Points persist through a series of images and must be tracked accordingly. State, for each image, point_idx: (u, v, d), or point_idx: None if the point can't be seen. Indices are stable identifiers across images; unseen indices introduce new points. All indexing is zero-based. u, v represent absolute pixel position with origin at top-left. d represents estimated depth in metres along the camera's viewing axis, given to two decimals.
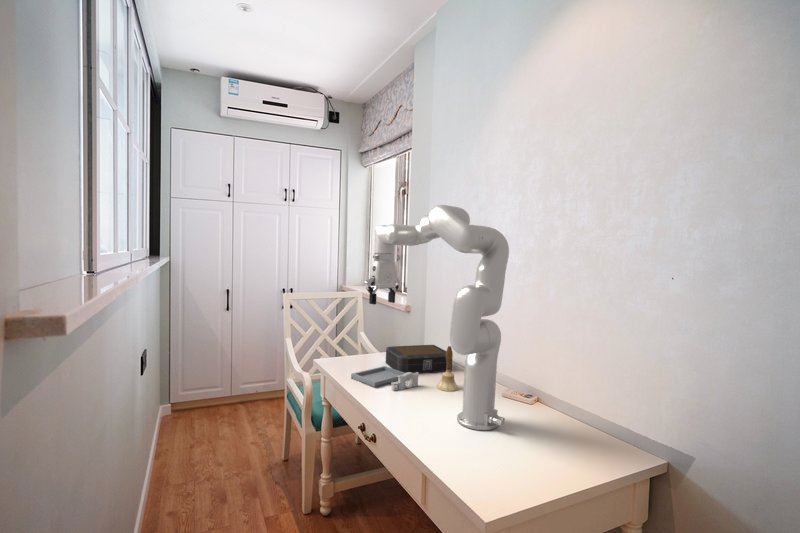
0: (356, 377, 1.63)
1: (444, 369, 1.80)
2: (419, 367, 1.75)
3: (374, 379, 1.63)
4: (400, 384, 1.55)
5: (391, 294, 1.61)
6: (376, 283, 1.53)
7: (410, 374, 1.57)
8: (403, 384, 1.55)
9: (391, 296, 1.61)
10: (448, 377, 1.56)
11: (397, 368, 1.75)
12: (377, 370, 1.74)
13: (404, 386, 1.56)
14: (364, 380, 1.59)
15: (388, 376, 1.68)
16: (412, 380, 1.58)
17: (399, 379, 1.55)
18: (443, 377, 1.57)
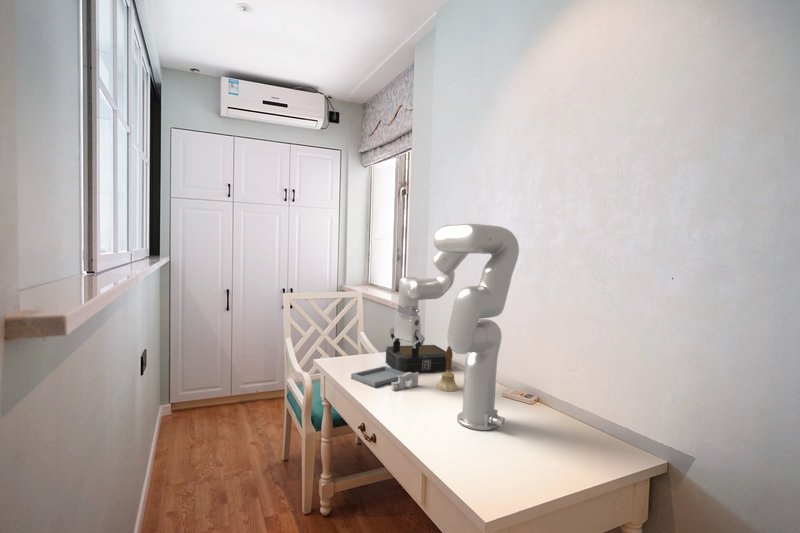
0: (356, 377, 1.63)
1: (443, 369, 1.79)
2: (418, 367, 1.75)
3: (374, 379, 1.63)
4: (400, 384, 1.55)
5: (397, 344, 1.60)
6: None
7: (410, 374, 1.57)
8: (403, 384, 1.55)
9: (397, 346, 1.60)
10: (448, 377, 1.56)
11: (396, 368, 1.75)
12: (377, 370, 1.74)
13: (404, 386, 1.56)
14: (364, 380, 1.59)
15: (388, 376, 1.68)
16: (412, 380, 1.58)
17: (399, 379, 1.55)
18: (443, 377, 1.57)
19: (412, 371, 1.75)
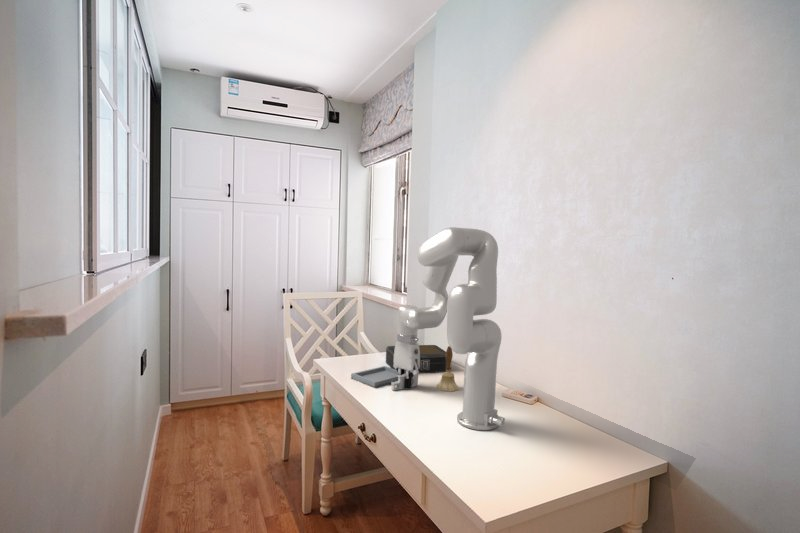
0: (356, 377, 1.63)
1: (442, 369, 1.79)
2: None
3: (374, 379, 1.63)
4: (400, 384, 1.55)
5: None
6: (419, 365, 1.54)
7: None
8: (403, 384, 1.55)
9: None
10: (448, 377, 1.56)
11: None
12: (377, 370, 1.74)
13: None
14: (364, 380, 1.59)
15: (388, 376, 1.68)
16: (412, 380, 1.58)
17: (399, 379, 1.55)
18: (443, 377, 1.57)
19: None
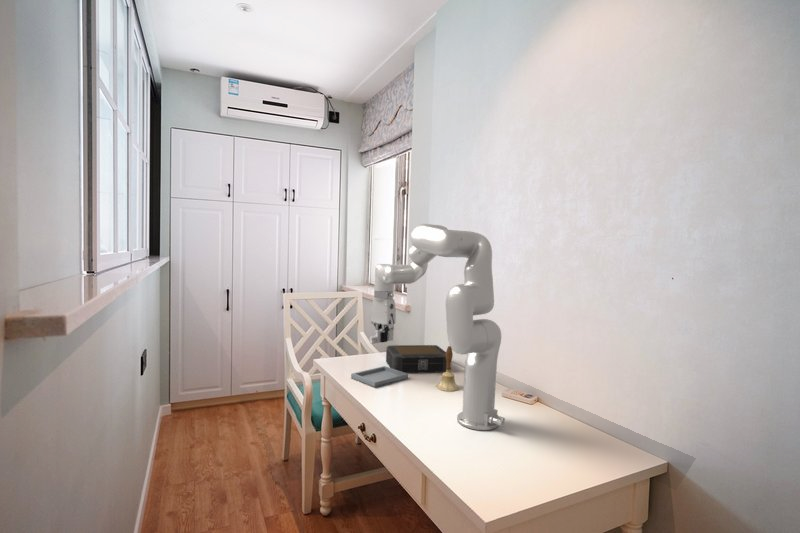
0: (356, 377, 1.63)
1: (441, 370, 1.78)
2: (414, 366, 1.76)
3: (374, 379, 1.63)
4: (377, 338, 1.63)
5: None
6: (394, 320, 1.63)
7: None
8: (380, 338, 1.64)
9: None
10: (448, 377, 1.56)
11: (392, 367, 1.77)
12: (377, 370, 1.74)
13: None
14: (364, 380, 1.59)
15: (388, 376, 1.68)
16: (388, 335, 1.68)
17: (376, 333, 1.64)
18: (443, 377, 1.57)
19: (408, 370, 1.75)
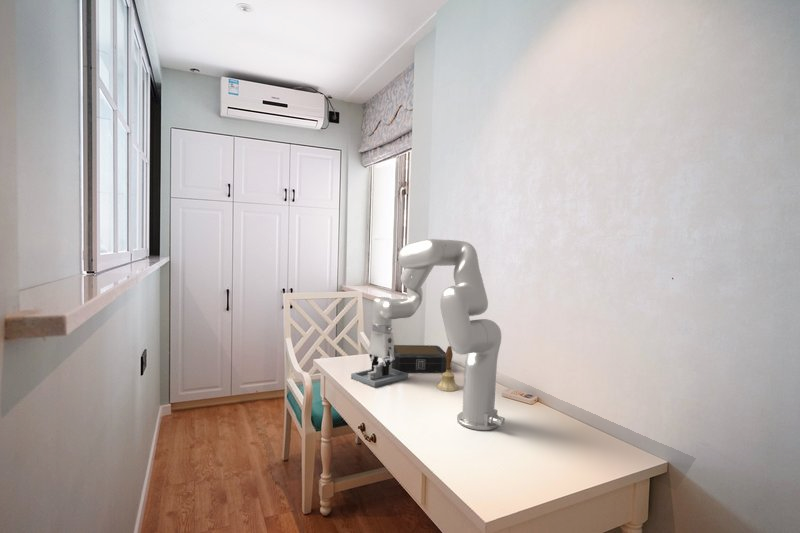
0: (356, 377, 1.63)
1: (439, 370, 1.78)
2: (412, 366, 1.76)
3: (374, 379, 1.63)
4: (376, 373, 1.64)
5: (376, 364, 1.68)
6: (393, 353, 1.64)
7: None
8: (378, 373, 1.65)
9: None
10: (448, 377, 1.56)
11: None
12: None
13: (379, 375, 1.65)
14: (364, 380, 1.59)
15: (388, 376, 1.68)
16: None
17: (375, 369, 1.64)
18: (443, 377, 1.57)
19: (406, 370, 1.76)
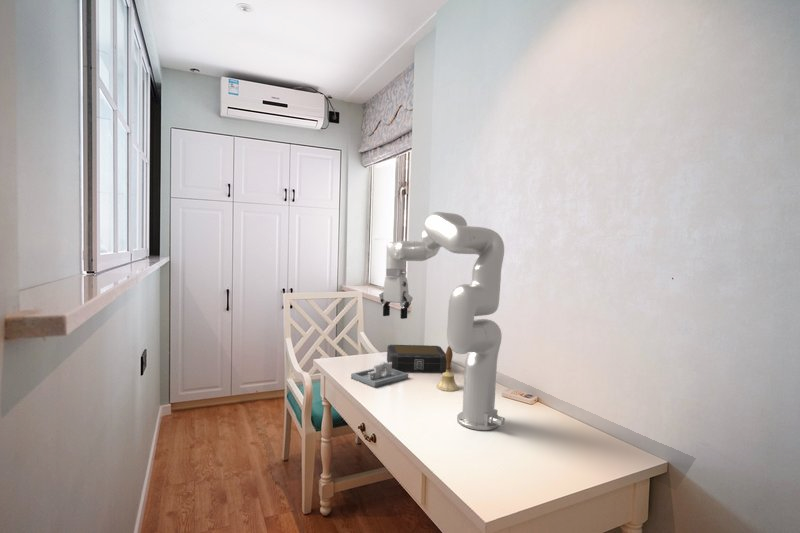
0: (356, 377, 1.63)
1: (437, 370, 1.77)
2: (410, 366, 1.76)
3: (374, 379, 1.63)
4: (376, 373, 1.64)
5: (387, 308, 1.67)
6: None
7: (385, 364, 1.67)
8: (378, 373, 1.65)
9: (387, 310, 1.67)
10: (448, 377, 1.56)
11: None
12: None
13: (379, 375, 1.65)
14: (364, 380, 1.59)
15: (388, 376, 1.68)
16: (386, 369, 1.69)
17: (375, 369, 1.64)
18: (443, 377, 1.57)
19: (404, 370, 1.76)
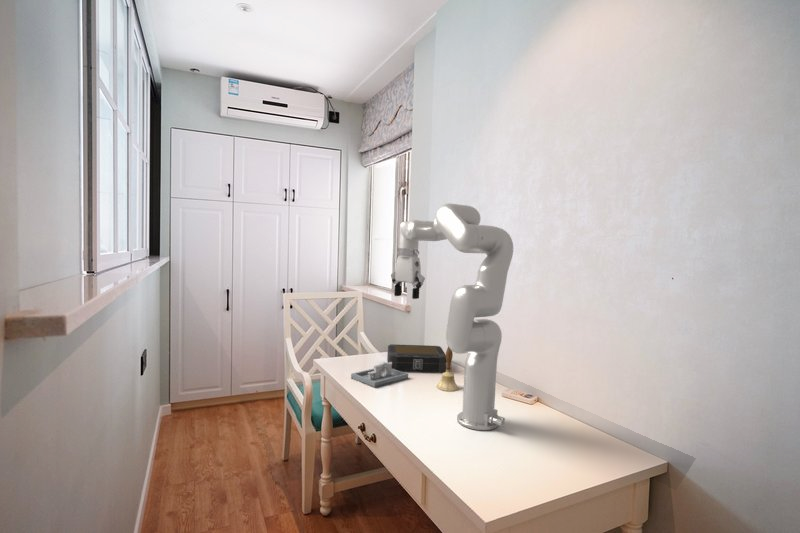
0: (356, 377, 1.63)
1: (436, 370, 1.77)
2: (409, 366, 1.77)
3: (374, 379, 1.63)
4: (376, 373, 1.64)
5: (399, 288, 1.66)
6: None
7: (385, 364, 1.67)
8: (378, 373, 1.65)
9: (399, 290, 1.66)
10: (448, 377, 1.56)
11: None
12: None
13: (379, 375, 1.65)
14: (364, 380, 1.59)
15: (388, 376, 1.68)
16: (386, 369, 1.69)
17: (375, 369, 1.64)
18: (443, 377, 1.57)
19: (403, 369, 1.77)
